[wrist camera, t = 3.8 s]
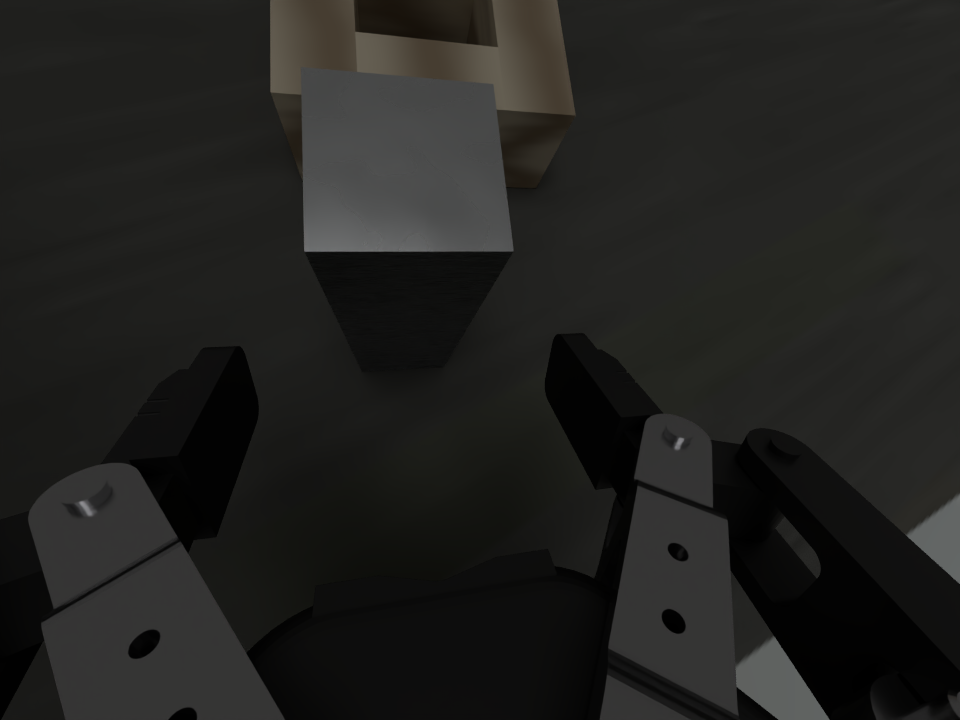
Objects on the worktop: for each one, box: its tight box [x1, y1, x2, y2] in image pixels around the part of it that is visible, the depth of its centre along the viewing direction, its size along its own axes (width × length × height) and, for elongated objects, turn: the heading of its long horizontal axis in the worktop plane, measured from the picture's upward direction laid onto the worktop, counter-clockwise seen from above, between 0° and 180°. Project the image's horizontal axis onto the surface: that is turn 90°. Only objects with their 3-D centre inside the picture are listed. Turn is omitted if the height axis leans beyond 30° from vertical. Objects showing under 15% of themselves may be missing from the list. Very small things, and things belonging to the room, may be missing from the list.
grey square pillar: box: [301, 67, 514, 372], centre depth 16 cm, size 4×4×14 cm
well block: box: [270, 0, 575, 188], centre depth 23 cm, size 14×14×6 cm
